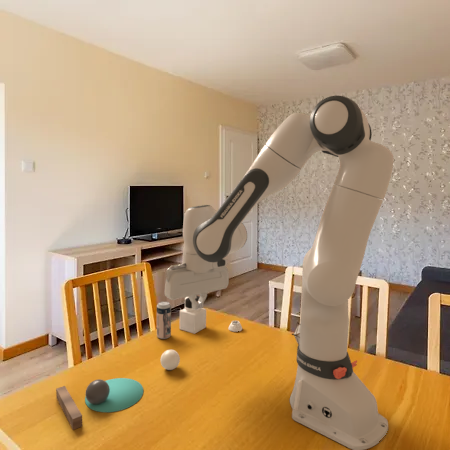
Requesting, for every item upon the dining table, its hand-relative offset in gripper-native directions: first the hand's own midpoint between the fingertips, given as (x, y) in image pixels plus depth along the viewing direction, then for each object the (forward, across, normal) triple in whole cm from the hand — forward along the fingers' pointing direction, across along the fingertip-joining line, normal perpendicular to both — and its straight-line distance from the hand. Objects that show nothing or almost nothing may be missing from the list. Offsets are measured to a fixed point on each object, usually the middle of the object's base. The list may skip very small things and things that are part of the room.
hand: (197, 308), depth 102 cm
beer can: (+17, +1, +22) cm, 28 cm away
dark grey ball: (+14, -30, -1) cm, 33 cm away
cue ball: (+14, -8, +2) cm, 16 cm away
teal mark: (+17, -25, 0) cm, 30 cm away
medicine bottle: (+17, +13, +22) cm, 31 cm away
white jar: (+18, +25, +12) cm, 33 cm away
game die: (+17, +35, -12) cm, 41 cm away
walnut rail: (+17, -36, 0) cm, 40 cm away
